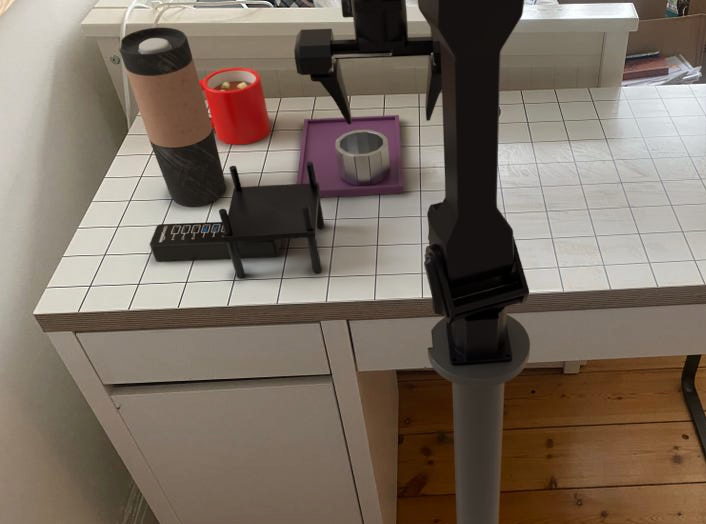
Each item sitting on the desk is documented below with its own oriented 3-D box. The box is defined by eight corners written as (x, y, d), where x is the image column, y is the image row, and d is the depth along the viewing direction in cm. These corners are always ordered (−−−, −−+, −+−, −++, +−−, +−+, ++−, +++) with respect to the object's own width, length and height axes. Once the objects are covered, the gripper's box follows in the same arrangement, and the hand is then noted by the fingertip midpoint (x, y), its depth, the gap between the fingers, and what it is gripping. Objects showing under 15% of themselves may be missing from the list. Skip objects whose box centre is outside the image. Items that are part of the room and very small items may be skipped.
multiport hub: (277, 256, 90) (274, 241, 88) (154, 261, 89) (148, 245, 87) (282, 234, 93) (278, 219, 91) (162, 239, 92) (157, 223, 90)
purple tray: (403, 193, 100) (403, 186, 99) (296, 199, 98) (295, 191, 98) (399, 121, 113) (398, 114, 112) (305, 125, 112) (304, 119, 111)
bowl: (390, 185, 100) (387, 154, 96) (339, 188, 99) (334, 157, 96) (389, 158, 104) (387, 128, 101) (340, 161, 104) (336, 130, 101)
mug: (196, 117, 114) (181, 66, 108) (275, 118, 114) (265, 67, 108) (181, 144, 108) (165, 92, 102) (265, 144, 108) (253, 92, 102)
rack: (322, 274, 88) (310, 208, 81) (235, 279, 87) (216, 214, 80) (325, 224, 95) (314, 160, 88) (245, 228, 94) (228, 164, 87)
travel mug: (240, 186, 100) (201, 36, 86) (197, 214, 96) (148, 60, 82) (200, 170, 103) (155, 21, 89) (156, 196, 99) (102, 44, 84)
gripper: (460, -48, 84) (461, 86, 95) (291, -43, 83) (312, 92, 94) (469, -12, 76) (469, 130, 87) (282, -6, 75) (307, 137, 86)
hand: (389, 120), depth 89 cm, fingers open, 9 cm apart
